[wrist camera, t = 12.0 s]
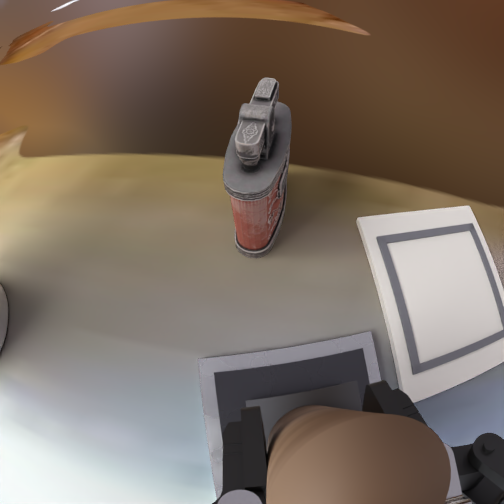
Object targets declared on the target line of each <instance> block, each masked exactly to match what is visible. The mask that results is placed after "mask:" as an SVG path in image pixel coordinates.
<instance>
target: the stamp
mask: <svg viewBox="0 0 504 504" xmlns="http://www.w3.org/2000/svg"><path fill="white" fill-rule="evenodd" d="M252 406H260V409H261V415H262V420H263V426H264V432H265V439H266V446H267V488H266V504H444V503H445V501H446V498H447V495H448V491H449V487H450V480H451V466H450V459H449V456H448V452H447V450H446V448H445V446H444V444H443V442H442V441H441V439H440V438H439V436H438V435H437V434H436V433H435V432H434V431H433V430H432V429H431V428H429V427H428V426H426V425H425V424H423V423H421V422H419V421H417V420H415V419H412V418H409V417H405V416H400V415H393V414H382V413H372V412H363V411H362V406H361V400H360V394H359V388H358V382H357V381H352V382H347V383H343V384H339V385H334V386H330V387H325V388H320V389H315V390H310V391H305V392H299V393H294V394H288V395H282V396H275V397H268V398H261V399H253V400H247V401H246V407H252Z"/></svg>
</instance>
